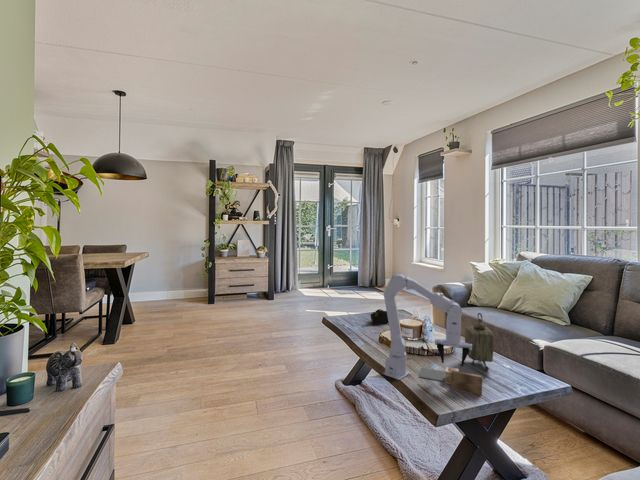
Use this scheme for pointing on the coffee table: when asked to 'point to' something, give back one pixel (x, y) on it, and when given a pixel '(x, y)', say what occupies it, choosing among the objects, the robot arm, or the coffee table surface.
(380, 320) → the film camera
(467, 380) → the walnut screen
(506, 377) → the coffee table surface
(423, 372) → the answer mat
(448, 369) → the letter block
